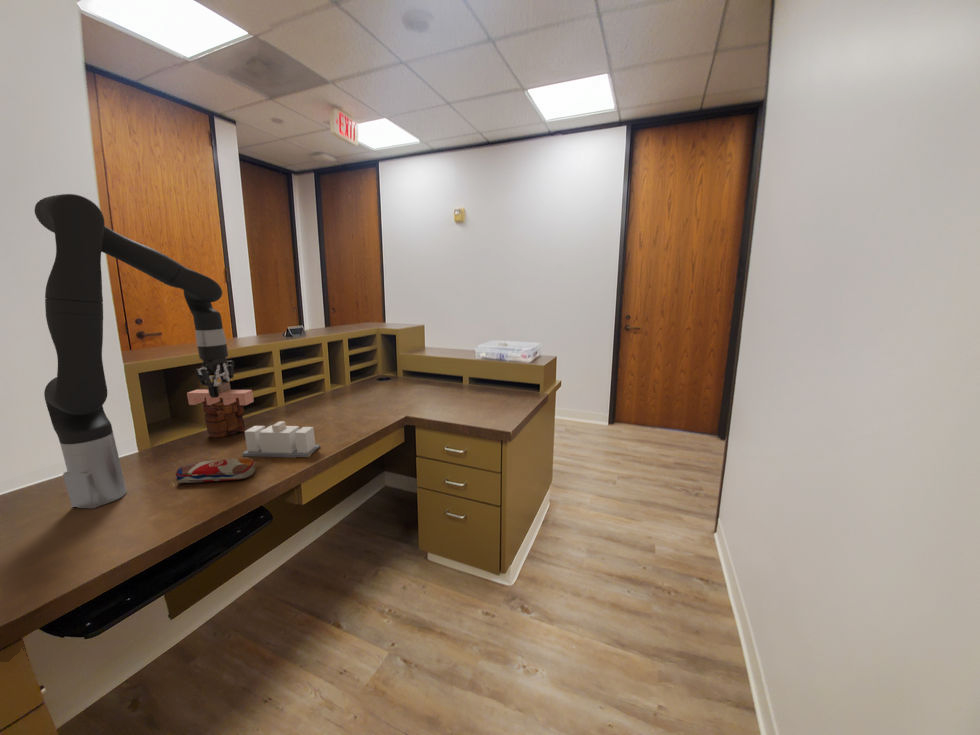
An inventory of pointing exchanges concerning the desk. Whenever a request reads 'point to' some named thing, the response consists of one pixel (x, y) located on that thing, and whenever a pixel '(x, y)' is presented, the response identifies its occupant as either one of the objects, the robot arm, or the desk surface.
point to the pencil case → (216, 470)
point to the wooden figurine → (223, 418)
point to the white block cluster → (280, 441)
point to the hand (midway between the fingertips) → (220, 394)
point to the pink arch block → (221, 395)
